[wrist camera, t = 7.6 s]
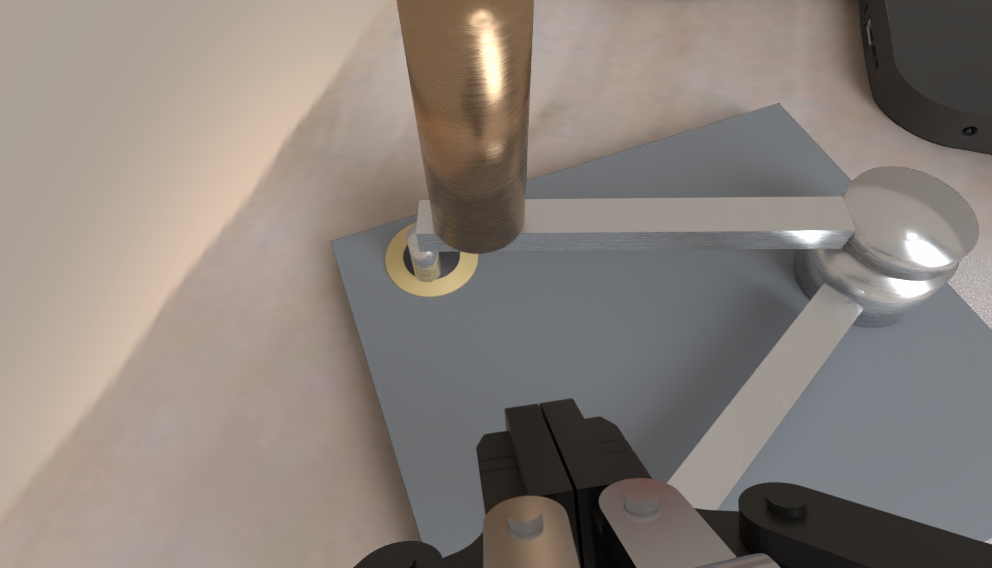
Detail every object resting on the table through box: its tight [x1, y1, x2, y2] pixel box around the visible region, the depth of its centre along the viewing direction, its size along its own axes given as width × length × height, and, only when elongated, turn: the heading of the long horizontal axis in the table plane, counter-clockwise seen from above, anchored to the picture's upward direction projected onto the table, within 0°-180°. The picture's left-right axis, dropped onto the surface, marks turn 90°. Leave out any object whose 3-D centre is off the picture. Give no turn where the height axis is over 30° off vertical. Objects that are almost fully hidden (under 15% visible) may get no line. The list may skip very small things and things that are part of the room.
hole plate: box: [330, 103, 992, 558], centre depth 22 cm, size 21×18×2 cm
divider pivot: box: [667, 193, 959, 510], centre depth 19 cm, size 19×4×2 cm, turn 131°
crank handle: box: [397, 0, 979, 282], centre depth 18 cm, size 18×4×11 cm, turn 90°
